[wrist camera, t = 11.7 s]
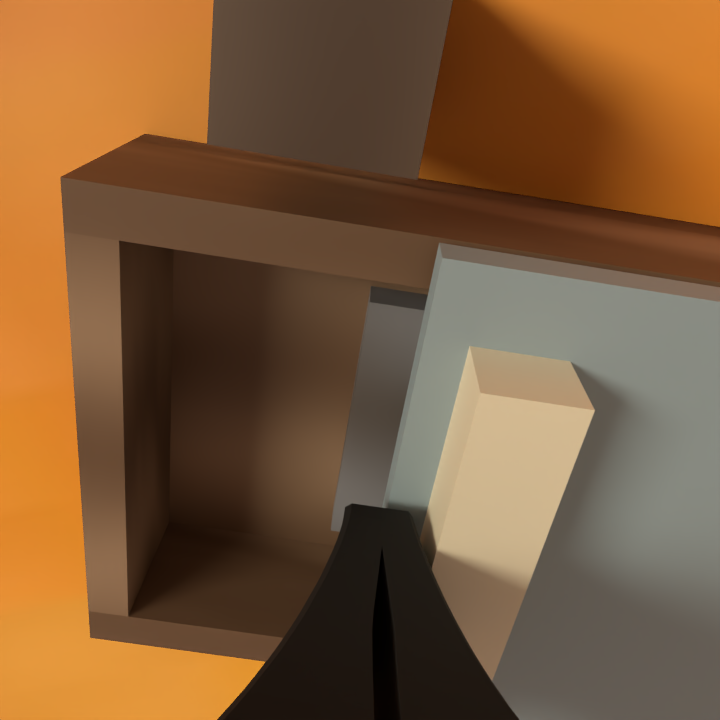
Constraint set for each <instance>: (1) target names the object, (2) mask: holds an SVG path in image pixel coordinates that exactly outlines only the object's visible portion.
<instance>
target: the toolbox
mask: <svg viewBox="0 0 720 720" xmlns="http://www.w3.org/2000/svg"><path fill="white" fill-rule="evenodd" d="M61 192H62V207H63V223H64V238H65V254H66V269H67V284H68V300H69V315H70V331H71V346H72V362H73V377H74V392H75V408H76V423H77V439H78V454H79V470H80V485H81V500H82V516H83V531H84V547H85V562H86V578H87V593H88V608H89V624H90V638H97V639H104V640H111V641H119V642H126V643H133V644H141V645H148V646H155V647H163V648H170V649H177V650H185V651H192V652H200V653H207V654H214V655H222V656H229V657H236V658H244V659H251V660H258V661H267V660H268V658H269V657H270V656H271V655H272V653H273V652H274V650H275V649H276V648H277V646H278V645H279V643H280V642H281V641H282V639H283V638H284V636H285V635H286V633H287V632H288V630H289V629H290V627H291V626H292V624H293V623H294V621H295V620H296V618H297V616H298V615H299V613H300V612H301V610H302V608H303V606H304V605H305V603H306V601H307V599H308V598H309V596H310V594H311V592H312V591H313V589H314V587H315V586H316V584H317V582H318V580H319V578H320V576H321V574H322V572H323V570H324V568H325V566H326V564H327V561H328V559H329V557H330V555H331V553H332V551H333V548H334V546H335V543H336V541H337V538H338V535H339V533H340V530H341V526H342V522H343V517H344V511H345V507H346V506H348V505H350V504H351V503H353V504H360V505H367V506H374V507H381V508H382V506H383V501H384V496H385V492H386V487H387V482H388V478H389V473H390V468H391V464H392V459H393V455H394V450H395V445H396V441H397V436H398V431H399V427H400V422H401V417H402V413H403V408H404V404H405V399H406V394H407V390H408V385H409V380H410V376H411V371H412V366H413V362H414V357H415V352H416V348H417V343H418V339H419V334H420V329H421V325H422V320H423V315H424V311H425V306H426V301H427V297H428V292H429V288H430V283H431V278H432V274H433V269H434V264H435V260H436V255H437V250H438V246H439V243H445V244H451V245H457V246H463V247H470V248H476V249H482V250H489V251H495V252H501V253H507V254H514V255H520V256H526V257H533V258H539V259H545V260H551V261H558V262H564V263H570V264H576V265H583V266H589V267H595V268H602V269H608V270H614V271H620V272H627V273H633V274H639V275H645V276H652V277H658V278H664V279H671V280H677V281H683V282H689V283H696V284H702V285H708V286H714V287H720V227H715V226H709V225H703V224H696V223H690V222H684V221H678V220H672V219H666V218H660V217H653V216H647V215H641V214H635V213H629V212H623V211H616V210H610V209H604V208H598V207H592V206H586V205H580V204H573V203H567V202H561V201H555V200H549V199H543V198H537V197H530V196H524V195H518V194H512V193H506V192H500V191H493V190H487V189H481V188H475V187H469V186H463V185H457V184H450V183H444V182H438V181H432V180H426V179H420V178H418V179H417V180H414V179H408V178H403V177H397V176H391V175H385V174H379V173H373V172H367V171H361V170H356V169H350V168H344V167H338V166H332V165H326V164H320V163H314V162H308V161H303V160H297V159H291V158H285V157H279V156H273V155H267V154H261V153H255V152H250V151H244V150H238V149H232V148H226V147H220V146H214V145H208V144H204V143H198V142H192V141H186V140H180V139H174V138H167V137H161V136H155V135H149V134H144V135H142V136H140V137H138V138H136V139H134V140H132V141H130V142H128V143H126V144H124V145H122V146H120V147H118V148H116V149H114V150H113V151H111V152H109V153H107V154H105V155H103V156H101V157H99V158H97V159H95V160H93V161H91V162H89V163H87V164H85V165H83V166H81V167H79V168H77V169H75V170H73V171H71V172H69V173H68V174H66V175H64V176H62V177H61Z"/></svg>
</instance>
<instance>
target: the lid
mask: <svg viewBox="0 0 720 720" xmlns="http://www.w3.org/2000/svg"><path fill="white" fill-rule="evenodd" d="M382 508H388V509H395V510H403V511H409V513H410V514H411V515H412V516H413V520H414V523H415V526H416V530H417V533H418V536H419V538H420V541H421V544H422V547H423V549H424V552H425V554H426V557H427V559H428V562H429V564H430V567H431V569H432V572H433V574H434V576H435V578H436V580H437V583H438V585H439V587H440V589H441V591H442V593H443V596H444V598H445V600H446V602H447V604H448V606H449V608H450V610H451V612H452V614H453V616H454V618H455V620H456V621H457V623H458V625H459V627H460V629H461V631H462V633H463V634H464V636H465V638H466V640H467V642H468V643H469V645H470V647H471V648H472V650H473V652H474V653H475V655H476V657H477V658H478V660H479V662H480V663H481V665H482V666H483V668H484V670H485V671H486V673H487V674H488V676H489V677H490V679H491V680H492V682H493V683H494V685H495V686H496V688H497V689H498V691H499V692H500V694H501V695H502V696H503V698H504V699H505V701H506V702H507V704H508V705H509V706H510V708H511V709H512V711H513V712H514V713H515V714H516V716H517V717H518V718H519V720H720V287H714V286H708V285H702V284H696V283H689V282H683V281H677V280H671V279H664V278H658V277H652V276H645V275H639V274H633V273H627V272H620V271H614V270H608V269H602V268H595V267H589V266H583V265H576V264H570V263H564V262H558V261H551V260H545V259H539V258H533V257H526V256H520V255H514V254H507V253H501V252H495V251H489V250H482V249H476V248H470V247H463V246H457V245H451V244H445V243H439V246H438V250H437V255H436V260H435V264H434V269H433V274H432V278H431V283H430V288H429V292H428V297H427V301H426V306H425V311H424V315H423V320H422V325H421V329H420V334H419V339H418V343H417V348H416V352H415V357H414V362H413V366H412V371H411V376H410V380H409V385H408V390H407V394H406V399H405V404H404V408H403V413H402V417H401V422H400V427H399V431H398V436H397V441H396V445H395V450H394V455H393V459H392V464H391V468H390V473H389V478H388V482H387V487H386V492H385V496H384V501H383V506H382Z"/></svg>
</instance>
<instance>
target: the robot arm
mask: <svg viewBox="0 0 720 720" xmlns="http://www.w3.org/2000/svg"><path fill="white" fill-rule="evenodd" d="M217 720H519V718H518V717H517V716H516V714H515V713H514V712H513V711H512V709H511V708H510V706H509V705H508V704H507V702H506V701H505V699H504V698H503V696H502V695H501V694H500V692H499V691H498V689H497V688H496V686H495V685H494V683H493V682H492V680H491V679H490V677H489V676H488V674H487V673H486V671H485V670H484V668H483V666H482V665H481V663H480V662H479V660H478V658H477V657H476V655H475V653H474V652H473V650H472V648H471V647H470V645H469V643H468V642H467V640H466V638H465V636H464V634H463V633H462V631H461V629H460V627H459V625H458V623H457V621H456V620H455V618H454V616H453V614H452V612H451V610H450V608H449V606H448V604H447V602H446V600H445V598H444V596H443V593H442V591H441V589H440V587H439V585H438V583H437V580H436V578H435V576H434V574H433V572H432V569H431V567H430V564H429V562H428V559H427V557H426V554H425V552H424V549H423V547H422V544H421V541H420V538H419V536H418V533H417V530H416V526H415V523H414V520H413V516H412V515H411V514H410V513H409V511H403V510H395V509H388V508H381V507H374V506H367V505H360V504H353V503H351V504H350V505H348V506H346V507H345V511H344V517H343V522H342V526H341V530H340V533H339V535H338V538H337V541H336V543H335V546H334V548H333V551H332V553H331V555H330V557H329V559H328V561H327V564H326V566H325V568H324V570H323V572H322V574H321V576H320V578H319V580H318V582H317V584H316V586H315V587H314V589H313V591H312V592H311V594H310V596H309V598H308V599H307V601H306V603H305V605H304V606H303V608H302V610H301V612H300V613H299V615H298V616H297V618H296V620H295V621H294V623H293V624H292V626H291V627H290V629H289V630H288V632H287V633H286V635H285V636H284V638H283V639H282V641H281V642H280V643H279V645H278V646H277V648H276V649H275V650H274V652H273V653H272V655H271V656H270V657H269V658H268V660H267V661H266V662H265V664H264V665H263V666H262V668H261V669H260V670H259V672H258V673H257V674H256V676H255V677H254V678H253V679H252V680H251V682H250V683H249V684H248V685H247V687H246V688H245V689H244V690H243V691H242V693H241V694H240V695H239V696H238V697H237V698H236V699H235V700H234V702H233V703H232V704H231V705H230V706H229V707H228V708H227V709H226V710H225V712H224V713H223V714H222V715H221V716H220V717H219V718H218V719H217Z"/></svg>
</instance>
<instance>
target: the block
mask: <svg viewBox="0 0 720 720" xmlns="http://www.w3.org/2000/svg"><path fill="white" fill-rule="evenodd" d="M452 2H453V0H214V6H213V28H212V50H211V72H210V94H209V116H208V137H207V144H208V145H214V146H220V147H226V148H232V149H238V150H244V151H250V152H255V153H261V154H267V155H273V156H279V157H285V158H291V159H297V160H303V161H308V162H314V163H320V164H326V165H332V166H338V167H344V168H350V169H356V170H361V171H367V172H373V173H379V174H385V175H391V176H397V177H403V178H408V179H414V180H417V179H418V174H419V169H420V164H421V159H422V154H423V149H424V144H425V139H426V134H427V129H428V123H429V118H430V113H431V108H432V103H433V98H434V93H435V88H436V83H437V78H438V73H439V68H440V63H441V58H442V53H443V47H444V42H445V37H446V32H447V27H448V22H449V17H450V12H451V7H452Z"/></svg>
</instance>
